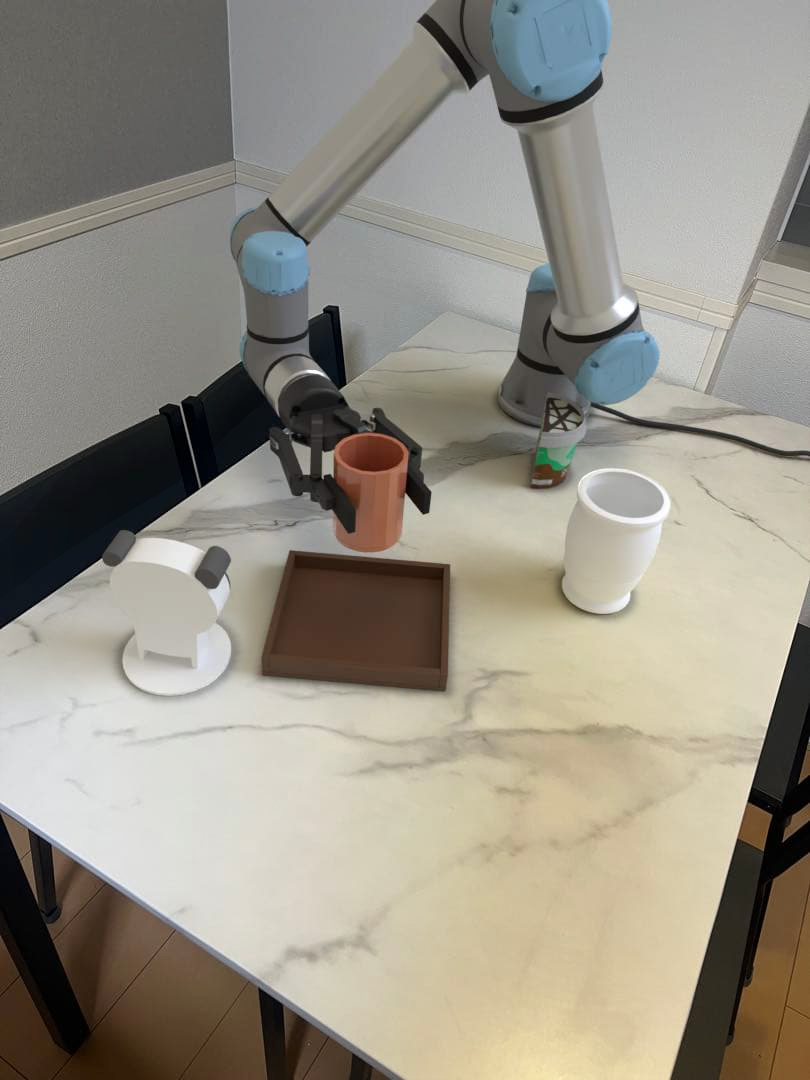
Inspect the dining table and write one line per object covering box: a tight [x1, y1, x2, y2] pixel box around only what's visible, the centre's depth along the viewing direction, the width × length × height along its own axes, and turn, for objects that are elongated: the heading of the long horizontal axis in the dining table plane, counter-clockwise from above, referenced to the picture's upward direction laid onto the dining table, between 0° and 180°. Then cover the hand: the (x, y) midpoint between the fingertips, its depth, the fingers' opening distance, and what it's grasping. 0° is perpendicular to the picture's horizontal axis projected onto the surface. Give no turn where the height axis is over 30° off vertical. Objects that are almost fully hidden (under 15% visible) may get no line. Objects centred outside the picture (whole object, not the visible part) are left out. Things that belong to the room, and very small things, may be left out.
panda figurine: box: [101, 529, 232, 697], centre depth 82 cm, size 12×11×15 cm
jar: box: [561, 467, 672, 615], centre depth 94 cm, size 11×10×15 cm
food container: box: [530, 392, 587, 490], centre depth 115 cm, size 12×6×10 cm, turn 168°
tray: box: [260, 549, 451, 692], centre depth 91 cm, size 20×18×3 cm
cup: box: [332, 433, 409, 553], centre depth 83 cm, size 7×7×10 cm
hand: (390, 512), depth 79 cm, fingers closed on cup, 7 cm apart
